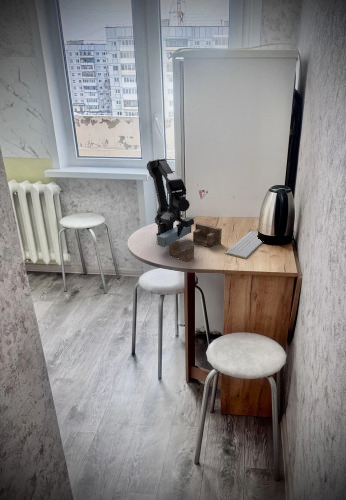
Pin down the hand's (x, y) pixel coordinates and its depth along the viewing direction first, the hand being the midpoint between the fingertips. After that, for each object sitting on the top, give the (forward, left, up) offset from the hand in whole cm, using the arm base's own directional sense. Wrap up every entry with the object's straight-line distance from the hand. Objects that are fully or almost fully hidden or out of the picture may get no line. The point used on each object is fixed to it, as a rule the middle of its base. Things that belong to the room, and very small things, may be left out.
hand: (175, 235), depth 189 cm
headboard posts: (+11, 0, -5) cm, 12 cm away
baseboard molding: (+28, +21, -6) cm, 36 cm away
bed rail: (0, 0, -2) cm, 2 cm away
